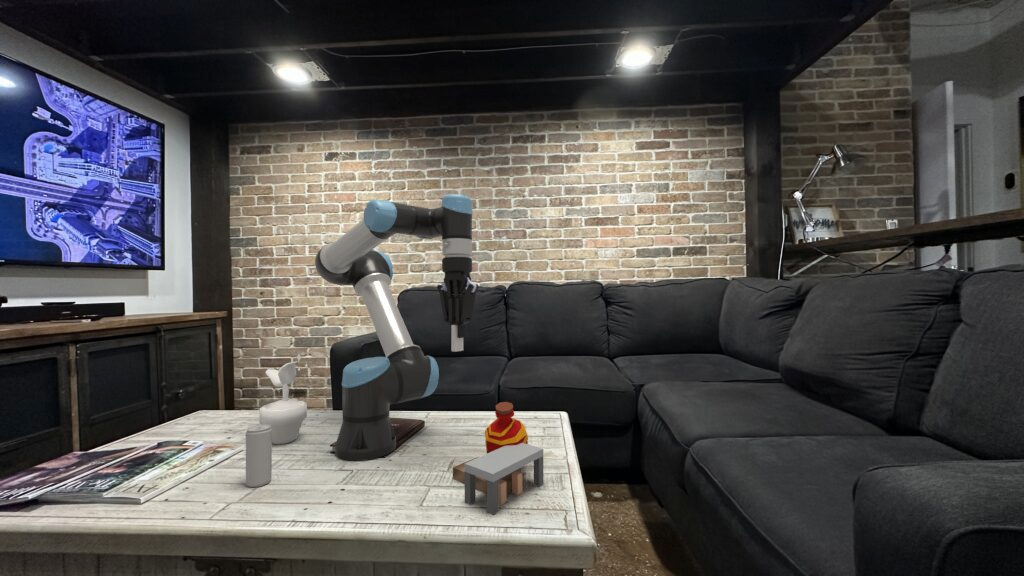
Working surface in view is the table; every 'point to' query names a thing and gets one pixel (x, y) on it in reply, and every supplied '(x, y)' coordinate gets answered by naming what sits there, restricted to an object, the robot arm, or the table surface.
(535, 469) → the shelf
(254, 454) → the beverage can
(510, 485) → the panel
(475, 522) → the table surface
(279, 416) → the potted plant
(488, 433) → the potion bottle
